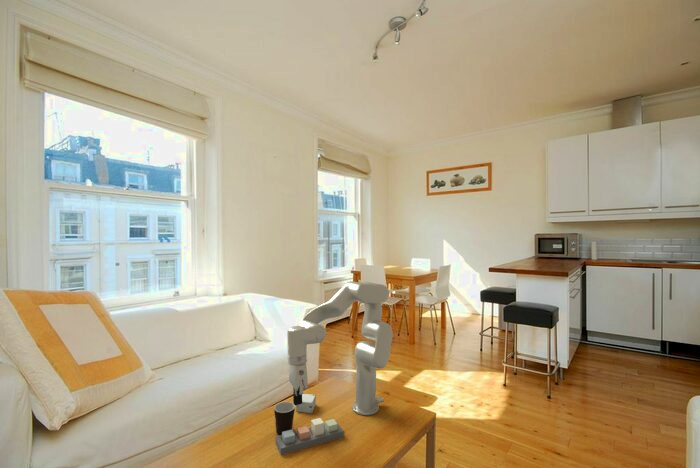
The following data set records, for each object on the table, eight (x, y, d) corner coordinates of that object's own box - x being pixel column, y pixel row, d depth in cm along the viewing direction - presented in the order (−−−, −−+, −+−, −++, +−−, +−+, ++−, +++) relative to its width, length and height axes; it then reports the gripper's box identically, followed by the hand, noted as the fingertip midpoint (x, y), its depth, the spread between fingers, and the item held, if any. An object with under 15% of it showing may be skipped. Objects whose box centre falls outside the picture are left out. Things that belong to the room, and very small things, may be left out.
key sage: (333, 429, 136) (333, 418, 136) (337, 434, 132) (337, 423, 132) (324, 432, 134) (324, 421, 134) (328, 437, 130) (328, 426, 130)
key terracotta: (306, 437, 130) (306, 425, 130) (309, 442, 127) (309, 431, 127) (296, 439, 128) (296, 428, 128) (299, 445, 125) (300, 433, 125)
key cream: (320, 428, 133) (320, 417, 133) (323, 434, 129) (324, 422, 129) (310, 431, 131) (311, 420, 131) (314, 436, 127) (314, 425, 128)
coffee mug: (289, 438, 129) (290, 413, 130) (269, 435, 131) (270, 410, 131) (300, 422, 141) (300, 399, 141) (281, 420, 142) (282, 397, 143)
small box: (295, 412, 150) (295, 400, 150) (300, 403, 157) (300, 393, 157) (311, 413, 148) (312, 402, 149) (315, 405, 156) (316, 394, 156)
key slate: (291, 440, 127) (292, 429, 127) (294, 446, 124) (295, 435, 124) (281, 443, 126) (282, 432, 126) (284, 449, 122) (284, 437, 122)
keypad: (335, 426, 138) (335, 420, 138) (343, 437, 131) (343, 431, 131) (275, 442, 126) (275, 436, 127) (280, 455, 119) (280, 448, 119)
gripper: (312, 363, 124) (313, 410, 124) (300, 350, 137) (300, 393, 137) (293, 367, 120) (294, 415, 121) (282, 353, 134) (283, 397, 134)
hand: (297, 403), depth 129 cm, fingers closed
